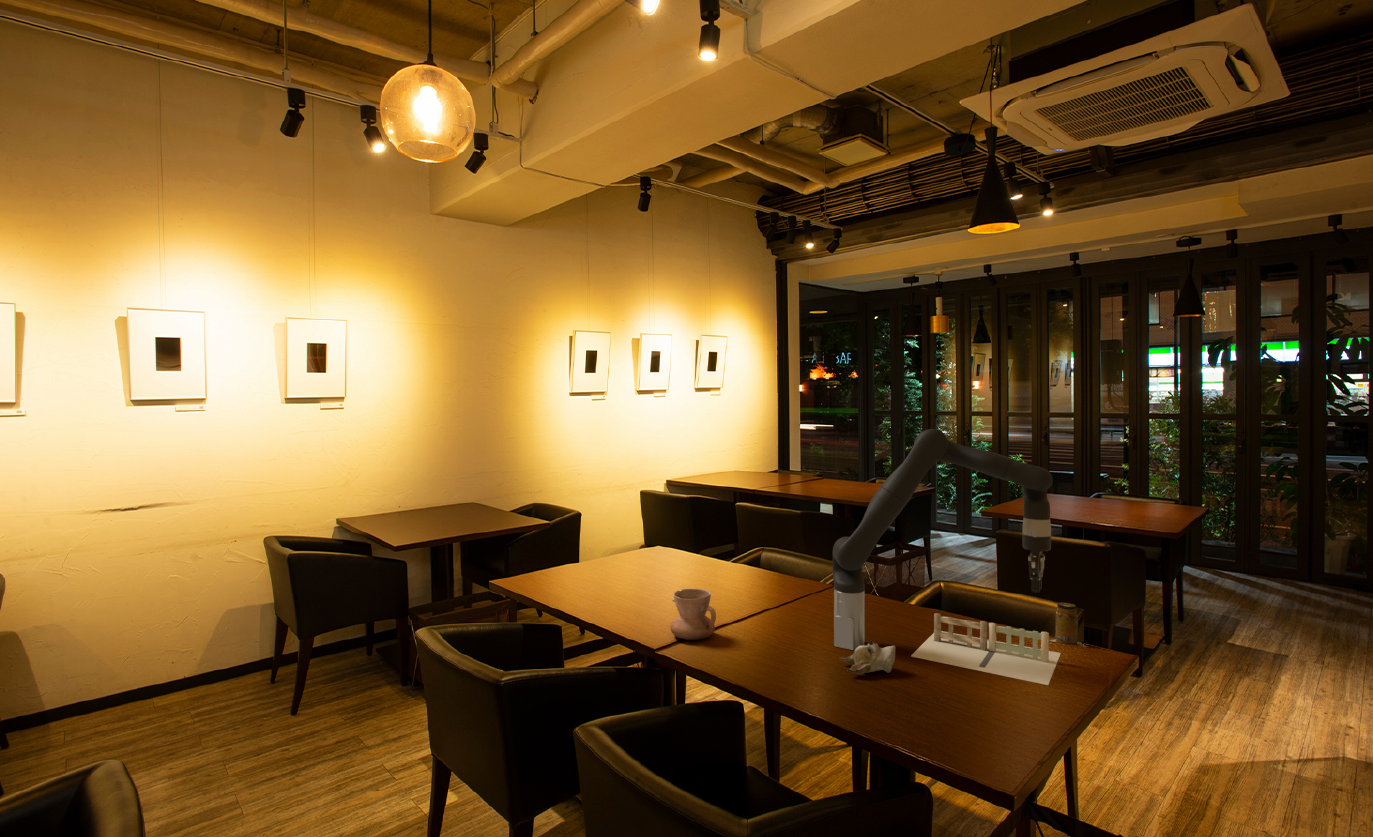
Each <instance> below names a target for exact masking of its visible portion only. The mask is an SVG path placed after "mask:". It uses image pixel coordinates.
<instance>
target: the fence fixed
mask: <svg viewBox="0 0 1373 837" xmlns="http://www.w3.org/2000/svg"><path fill="white" fill-rule="evenodd" d="M933 621H934V622H933V626H934V627H933V629H934V630H933V633H934V641H936V642H940V641H941V638H943V639H948V643H950V644H953V641H959V642H964V643H967V647H972V644H974V645H980V650H983V651H986V650H987V640H988V622H987V621H985V620H980V621H979V622H978V621H973V620H969V619H968V620H966V619H960V618H955V617H951V616H944V615H943V616H942V614H941V613H937V612H936V613H934V614H933ZM942 623H944V624H948V627H947V629H948V631H947V632H948V633H945V632H946V631H944V632H941V631H942ZM954 625H955V626H960V627H966V635H965V636H961V635H962V634H960V635H955V634H956V633H955V634H953V633H954ZM973 629H977V630H979V638H980V639H977V638H978V637H976V638H972V637H973ZM966 636H967V637H966Z"/></svg>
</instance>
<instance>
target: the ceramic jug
mask: <svg viewBox="0 0 1373 837" xmlns="http://www.w3.org/2000/svg"><path fill="white" fill-rule="evenodd" d="M673 592H674V593H673V598H672V600H671V601H672V602H673V603H675V607H676V610H677V611H678V614H679V615H678V616H677V617H676V618H674V619H673V620H672V621H671V622H670V625H669V628H670V631H671V634H672V635H674V636H675V637H677V638H679V639H683V640H687V641H697V640H699V641H700V640H702V639H706V638H709V637H710V636H711V635H713V634H714V632H715V628H716V627H715V626H716V625H715V624H716V620H717V613H716V610H715V608H714V607H712V606H711V605H710V603H711V598H712V597H711V596H712V595H711V594H712V593H711V592H710V591H709V590H706V589H703V588H683V589H680V590H679V589H678V590H676V591H673ZM708 611H709V613H710V618H709V617H708V616H707V615H706V614H707V612H708Z"/></svg>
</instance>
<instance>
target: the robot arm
mask: <svg viewBox="0 0 1373 837" xmlns="http://www.w3.org/2000/svg"><path fill="white" fill-rule="evenodd" d="M939 461H940V462H945V463H950V464H953V465H958V466H960V467H964V468H967V469H971V470H972V471H976V472H979V473H981V474H985V475H987V476H990V477H993V478H997V479H999V480H1003V481H1006V482H1011V483H1014V484H1016V485H1019V486H1021V489H1022V497H1023V519H1022V548H1023V549H1025V550H1029V551H1030V554H1029V555H1028V557H1027V560H1028V562H1027V563H1028V574H1029V575H1028V577H1029V579H1030V580H1031V581H1030V584H1031V585H1030V586H1031V587H1030V588H1031V589H1030V590H1031V592H1032V593H1037V594H1039V593H1040V591H1042V588H1043V587H1042V585H1043V584H1042V580H1043V576H1044V575H1043V574H1044V572H1045V571H1044V569H1045V560H1046V556H1045V553H1043V552H1048V551H1050V550H1051V549H1052V525H1051V505H1050V504H1051V503H1050V502H1049V499H1048V494H1047V493H1048V489H1049V488H1051V486H1052V485H1053V480H1054V479H1053V475H1052V474H1051V472H1050V471H1049V470H1047V469H1046V468H1044V467H1042V466H1038V465H1034V464H1030V463H1026V462H1021V461H1018V460H1016V459H1014V458H1012V457H1009V456H1005V455H1002V454H1000V453H996V452H993V451H988V450H984V449H978V448H974V447H969V446H965V445H962V444H959V443H956V442H954V441H952V440H950V439H948V437H947V435H946V434H945V432H943V431H942V430H941V429H940V430H939V429H937V428H936V429H935V428H929V429H925V430H923V431H922V432H920V433H919V434H918V435H917V436H916V437H915V440H914V442H913V446H912V448H911V449H910V451H909V453H908V454H907V456H906V458H904V460H903V462H902V463H901V464H900V465H899V466H898V467H897V468H896V469H895V470H894V471H893V472H892V473H891V474H890V475H889V476H888V477H887V478H886V480H885V481H884V482H882V484H880V487H879V488H878V489H877V490H876V492H875V494H873V496H872V498H871V500H870V502H869V504H868V505H867V508H866V511H865V513H864V515H863V517H862V520H861V521H860V523H859V525H858V526H857V528H856V529H855V530H854V531H853V533H852V534H851V535H850V536H842V537H840V538H838V539H837V540H836V541H835V542H834V545H833V547H832V580H833V590H834V591H833V628H834V629H833V638H834V639H833V645H834V647H837V648H841V649H846V650H850V651H854V650H855V649H856V648H857V647H858V646H860V645H862V646H863V645H865V580H864V575H863V566H864V564H865V563H866V561H867V560H868V558H869V557H870V555H871V553H872V552H873V550H874V548H875V546H876V545H877V543H878V542H879V540H880V538H882V536H883V535H884V533H885V532H886V531H887V530H888V529H889V527H891V525H892V524H893V522H894V521H895V520H896V518H897V517H898V515H900V513H901V512H902V511H903V509H904V508H905V507H906V505H907V504H908V503H909V502H910V500H911V498H912V497H913V495H914V493H915V492H916V490H918V489H917V488H918V487H919V485H920V483H921V481H923V479H924V477H925V476H926V475H927V474H928V472H929V470H930V469H932V467H933V466H935V464H936V463H937V462H939Z"/></svg>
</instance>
